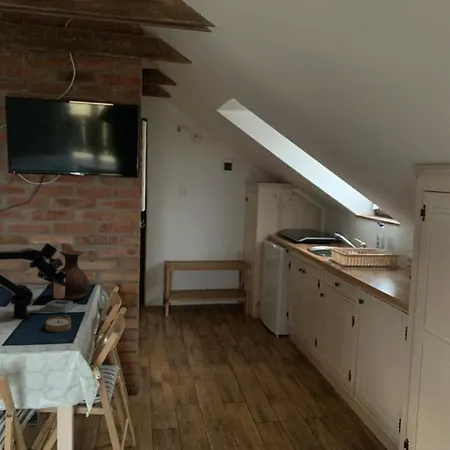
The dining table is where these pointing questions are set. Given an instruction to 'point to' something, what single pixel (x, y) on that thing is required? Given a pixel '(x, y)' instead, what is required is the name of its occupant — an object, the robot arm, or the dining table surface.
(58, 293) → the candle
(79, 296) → the jug
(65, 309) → the dish
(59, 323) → the alarm clock
